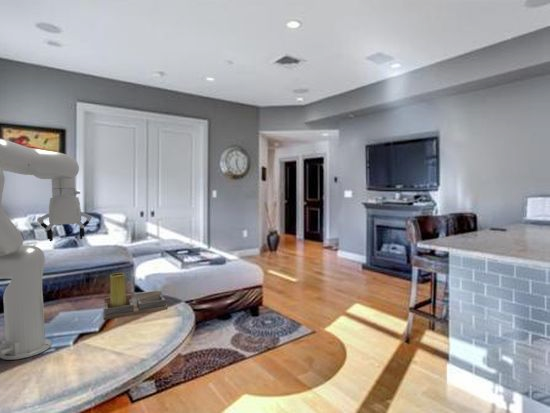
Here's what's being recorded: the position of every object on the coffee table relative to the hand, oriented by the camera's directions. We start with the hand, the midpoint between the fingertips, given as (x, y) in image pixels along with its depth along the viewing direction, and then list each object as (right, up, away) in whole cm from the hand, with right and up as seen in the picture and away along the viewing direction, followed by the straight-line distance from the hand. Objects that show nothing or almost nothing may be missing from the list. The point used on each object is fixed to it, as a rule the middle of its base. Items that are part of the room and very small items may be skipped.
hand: (66, 239), depth 130 cm
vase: (+16, -29, +8) cm, 34 cm away
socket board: (+21, -29, +11) cm, 38 cm away
